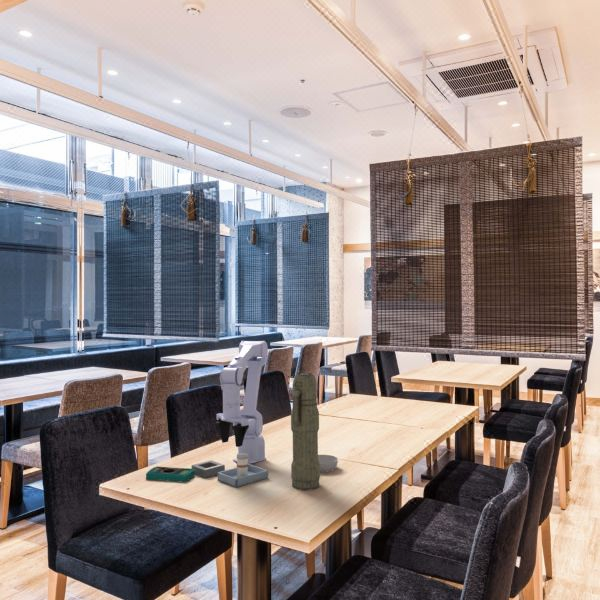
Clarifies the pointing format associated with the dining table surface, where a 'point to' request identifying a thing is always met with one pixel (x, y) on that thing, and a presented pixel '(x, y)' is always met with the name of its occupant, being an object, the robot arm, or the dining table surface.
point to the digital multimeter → (170, 474)
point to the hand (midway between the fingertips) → (232, 444)
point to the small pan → (327, 462)
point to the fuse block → (208, 468)
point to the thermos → (305, 433)
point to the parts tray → (231, 477)
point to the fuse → (242, 465)
